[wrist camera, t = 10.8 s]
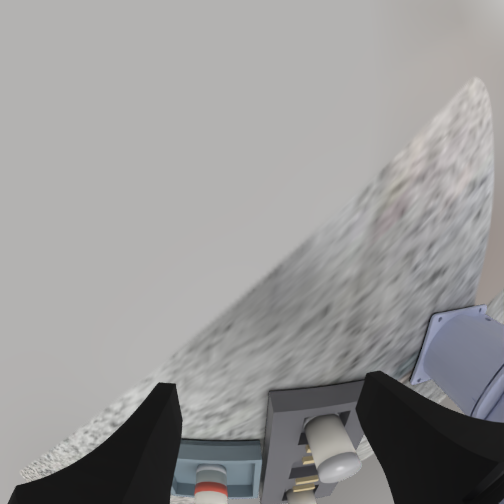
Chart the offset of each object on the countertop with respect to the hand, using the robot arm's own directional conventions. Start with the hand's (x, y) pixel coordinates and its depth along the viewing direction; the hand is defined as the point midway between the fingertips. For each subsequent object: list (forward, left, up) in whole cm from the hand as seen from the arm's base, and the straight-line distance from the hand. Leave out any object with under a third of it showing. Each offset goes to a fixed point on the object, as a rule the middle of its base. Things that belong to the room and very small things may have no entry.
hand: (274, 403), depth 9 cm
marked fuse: (+4, +20, -9) cm, 22 cm away
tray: (+4, +20, -9) cm, 22 cm away
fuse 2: (-6, +11, -8) cm, 15 cm away
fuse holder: (-6, +18, -9) cm, 21 cm away
